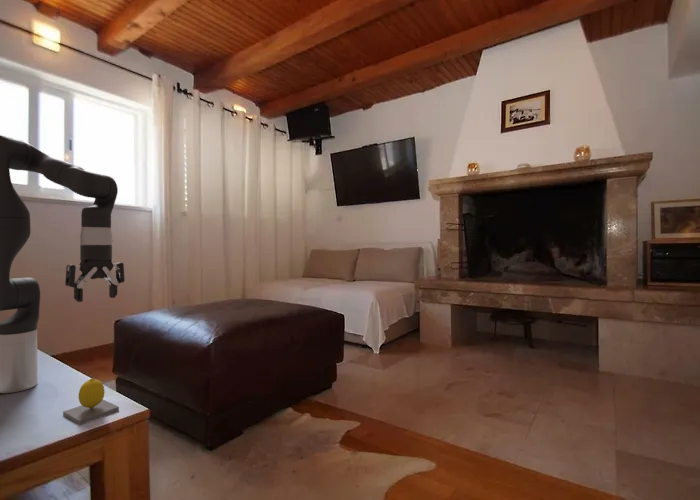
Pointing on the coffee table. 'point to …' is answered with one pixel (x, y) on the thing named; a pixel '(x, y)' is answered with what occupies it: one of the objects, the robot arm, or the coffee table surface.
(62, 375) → the coffee table surface
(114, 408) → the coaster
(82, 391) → the lemon
